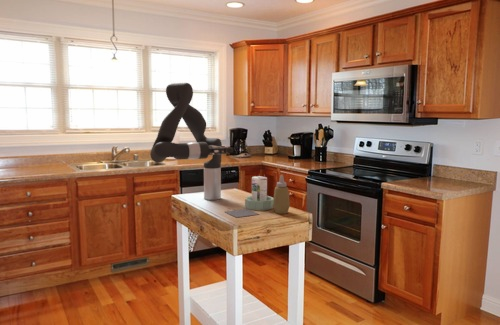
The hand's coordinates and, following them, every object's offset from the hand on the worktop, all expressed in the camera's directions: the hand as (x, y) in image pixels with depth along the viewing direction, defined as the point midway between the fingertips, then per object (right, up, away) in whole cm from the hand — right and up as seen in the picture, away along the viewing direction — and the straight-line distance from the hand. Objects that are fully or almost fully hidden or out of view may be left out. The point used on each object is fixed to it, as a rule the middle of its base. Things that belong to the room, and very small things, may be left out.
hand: (228, 149), depth 184 cm
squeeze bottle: (+25, -30, +3) cm, 39 cm away
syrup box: (+14, -28, +14) cm, 34 cm away
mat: (+6, -30, +1) cm, 31 cm away
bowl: (+15, -29, +14) cm, 35 cm away
